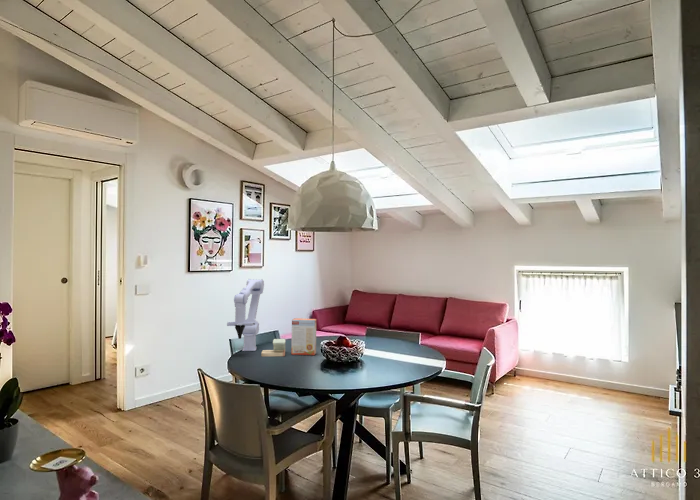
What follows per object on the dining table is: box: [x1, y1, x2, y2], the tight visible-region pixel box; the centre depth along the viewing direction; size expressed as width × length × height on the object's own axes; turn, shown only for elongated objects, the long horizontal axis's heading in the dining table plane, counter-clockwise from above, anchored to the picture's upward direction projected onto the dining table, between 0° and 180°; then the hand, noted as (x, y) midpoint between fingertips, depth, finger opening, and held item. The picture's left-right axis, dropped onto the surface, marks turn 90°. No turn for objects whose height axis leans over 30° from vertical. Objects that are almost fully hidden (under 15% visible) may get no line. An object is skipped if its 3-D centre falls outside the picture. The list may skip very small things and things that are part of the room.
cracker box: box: [290, 317, 317, 356], centre depth 259 cm, size 14×6×21 cm, turn 84°
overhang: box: [272, 338, 287, 357], centre depth 257 cm, size 12×7×8 cm, turn 7°
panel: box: [260, 349, 284, 357], centre depth 255 cm, size 8×12×2 cm, turn 97°
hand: (239, 338), depth 251 cm, fingers closed
